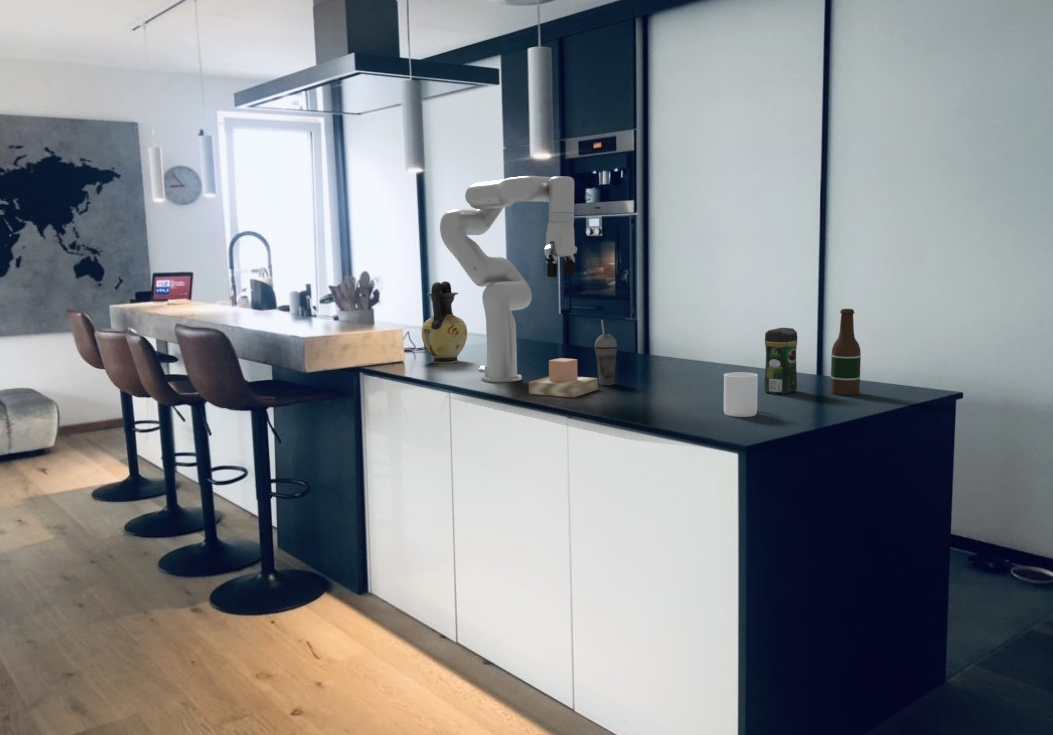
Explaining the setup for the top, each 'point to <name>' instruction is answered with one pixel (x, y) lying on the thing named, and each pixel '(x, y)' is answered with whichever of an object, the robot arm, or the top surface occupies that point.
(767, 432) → the top surface
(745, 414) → the cup
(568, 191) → the robot arm
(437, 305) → the amphora
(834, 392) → the beer bottle
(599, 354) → the beverage cup
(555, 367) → the terracotta cube
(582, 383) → the maple block
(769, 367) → the coffee jar
